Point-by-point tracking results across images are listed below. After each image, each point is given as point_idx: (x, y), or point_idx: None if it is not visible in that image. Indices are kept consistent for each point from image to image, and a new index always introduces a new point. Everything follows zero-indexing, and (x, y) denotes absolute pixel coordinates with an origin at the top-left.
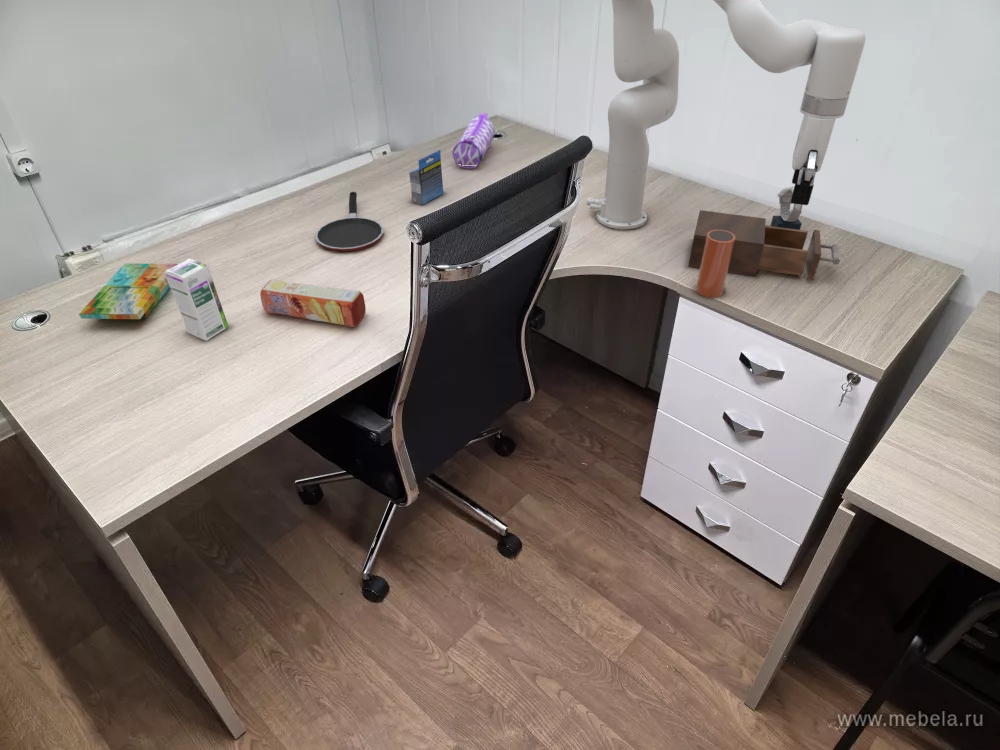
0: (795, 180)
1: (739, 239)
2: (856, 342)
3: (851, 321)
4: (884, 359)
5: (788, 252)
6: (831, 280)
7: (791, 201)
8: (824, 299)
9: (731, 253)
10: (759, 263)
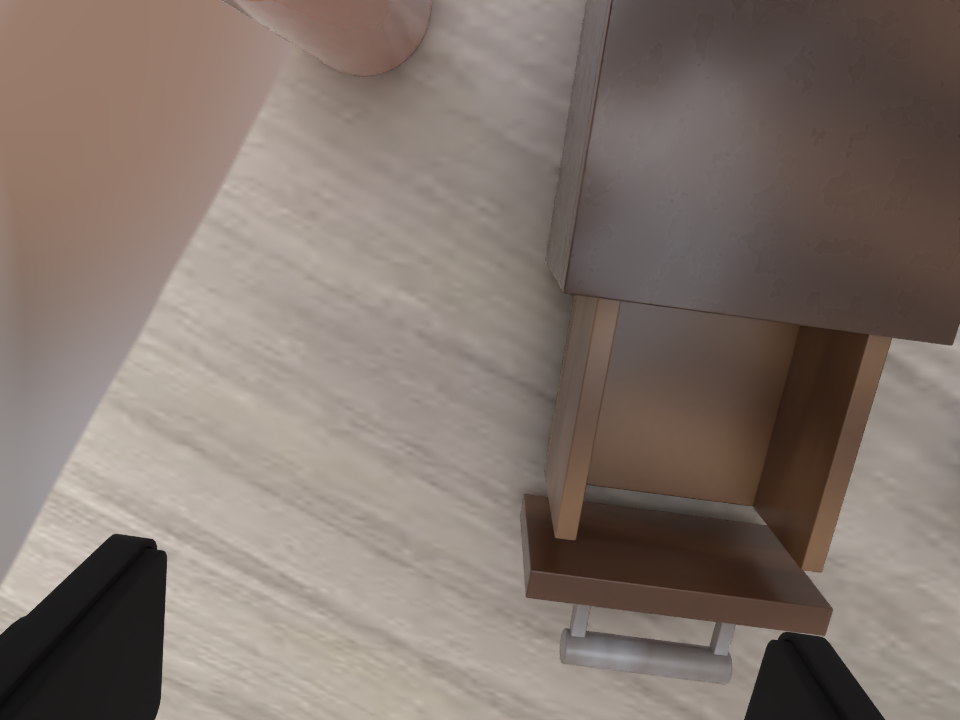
0: (781, 688)
1: (610, 128)
2: None
3: (248, 604)
4: None
5: (568, 434)
6: None
7: (109, 544)
8: (396, 536)
9: (252, 18)
10: None
